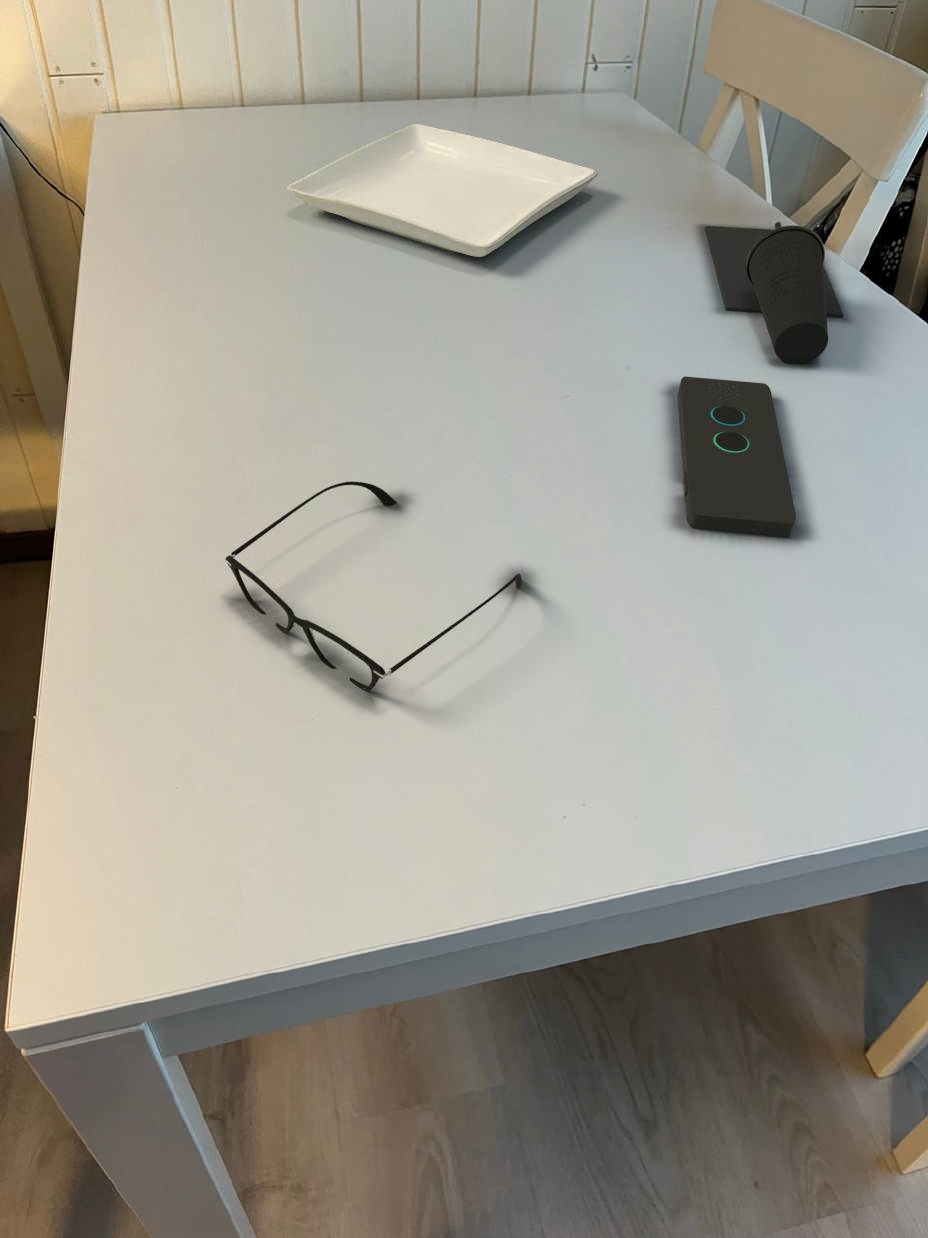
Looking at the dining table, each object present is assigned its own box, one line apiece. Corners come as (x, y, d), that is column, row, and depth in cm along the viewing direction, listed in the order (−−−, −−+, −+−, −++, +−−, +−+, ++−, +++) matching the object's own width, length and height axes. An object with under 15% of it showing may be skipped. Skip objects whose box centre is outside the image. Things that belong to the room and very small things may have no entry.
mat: (842, 319, 98) (843, 314, 98) (725, 312, 99) (726, 307, 98) (806, 236, 112) (808, 231, 112) (704, 230, 113) (705, 225, 112)
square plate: (485, 280, 102) (487, 244, 99) (285, 217, 111) (281, 183, 109) (597, 197, 118) (601, 164, 116) (414, 148, 128) (414, 117, 125)
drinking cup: (774, 304, 86) (753, 186, 98) (748, 371, 93) (731, 253, 104) (857, 313, 86) (826, 194, 98) (826, 380, 93) (801, 260, 104)
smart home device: (771, 381, 86) (800, 523, 72) (766, 398, 87) (794, 540, 73) (678, 373, 86) (689, 512, 73) (675, 390, 88) (685, 529, 74)
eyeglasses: (219, 594, 67) (210, 551, 64) (379, 493, 76) (377, 452, 73) (384, 720, 60) (383, 678, 57) (541, 593, 68) (547, 551, 65)
